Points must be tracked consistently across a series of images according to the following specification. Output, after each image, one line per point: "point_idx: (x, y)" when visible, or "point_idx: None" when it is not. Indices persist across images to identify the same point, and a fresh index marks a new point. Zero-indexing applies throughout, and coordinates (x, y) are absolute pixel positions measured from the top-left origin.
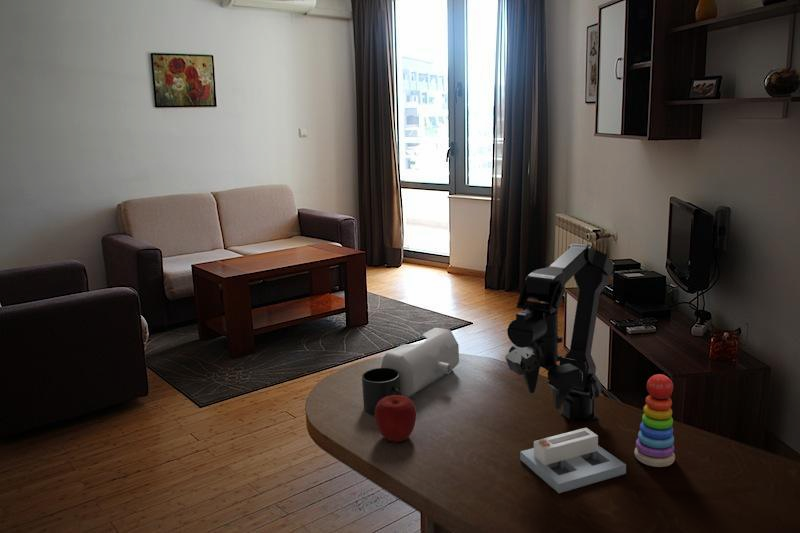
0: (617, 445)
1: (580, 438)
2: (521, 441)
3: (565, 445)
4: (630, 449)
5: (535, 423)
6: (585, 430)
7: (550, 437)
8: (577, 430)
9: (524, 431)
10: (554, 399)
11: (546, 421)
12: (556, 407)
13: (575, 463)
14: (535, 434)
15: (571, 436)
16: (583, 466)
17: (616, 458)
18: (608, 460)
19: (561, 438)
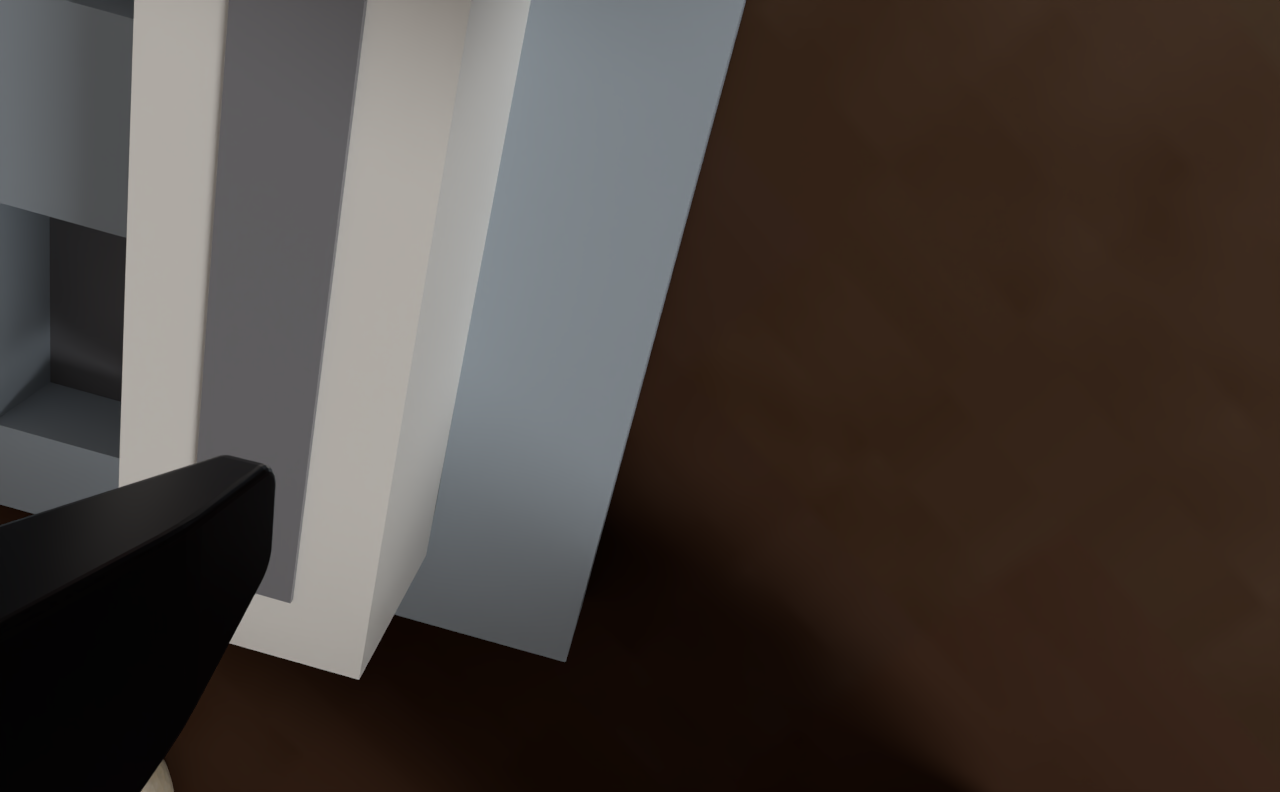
0: (360, 751)
1: (161, 406)
2: (1145, 150)
3: (140, 106)
4: (247, 761)
5: (1274, 608)
6: (302, 616)
7: (434, 106)
8: (362, 553)
9: (1274, 378)
10: (3, 573)
11: (1190, 713)
12: (165, 478)
13: (119, 91)
14: (1107, 413)
15: (259, 358)
16: (16, 106)
17: (6, 501)
18: (30, 426)
19: (291, 202)
